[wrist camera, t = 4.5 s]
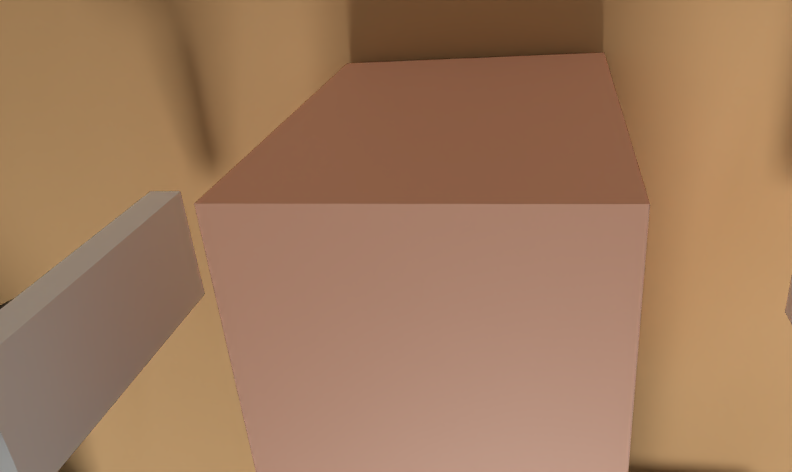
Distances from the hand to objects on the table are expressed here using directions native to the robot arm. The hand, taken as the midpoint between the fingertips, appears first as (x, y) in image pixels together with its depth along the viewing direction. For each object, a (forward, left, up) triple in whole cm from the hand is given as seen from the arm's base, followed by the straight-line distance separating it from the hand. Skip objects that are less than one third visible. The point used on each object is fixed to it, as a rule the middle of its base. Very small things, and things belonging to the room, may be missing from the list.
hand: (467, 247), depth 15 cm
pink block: (0, 0, -2) cm, 2 cm away
